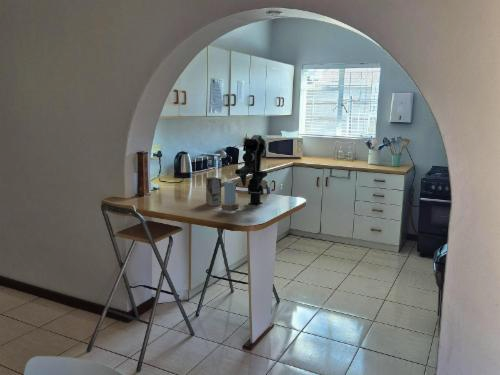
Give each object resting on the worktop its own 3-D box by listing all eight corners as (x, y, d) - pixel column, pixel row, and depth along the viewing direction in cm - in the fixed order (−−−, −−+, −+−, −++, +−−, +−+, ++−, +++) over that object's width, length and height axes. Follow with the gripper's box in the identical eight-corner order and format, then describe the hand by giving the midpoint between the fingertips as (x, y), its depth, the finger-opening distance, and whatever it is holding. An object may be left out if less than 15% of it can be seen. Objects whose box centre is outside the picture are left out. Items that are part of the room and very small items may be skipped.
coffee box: (221, 205, 272) (221, 178, 269) (212, 206, 269) (212, 179, 266) (215, 202, 280) (214, 176, 277) (205, 203, 277) (205, 177, 274)
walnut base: (230, 205, 270) (230, 200, 270) (246, 208, 264) (246, 202, 263) (213, 211, 257) (213, 205, 257) (230, 214, 251) (230, 208, 250)
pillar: (229, 202, 263) (229, 180, 260) (235, 203, 260) (235, 181, 257) (224, 204, 260) (224, 181, 257) (230, 205, 257) (230, 182, 254)
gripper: (229, 160, 255) (229, 187, 258) (256, 163, 245) (256, 191, 248) (240, 158, 264) (240, 184, 267) (267, 161, 254) (267, 188, 257)
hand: (250, 187), depth 259 cm, fingers open, 9 cm apart
